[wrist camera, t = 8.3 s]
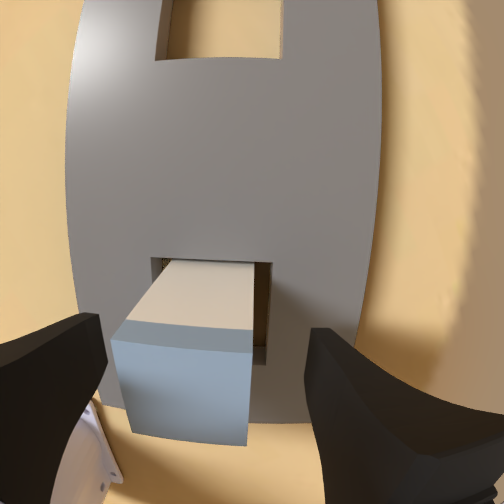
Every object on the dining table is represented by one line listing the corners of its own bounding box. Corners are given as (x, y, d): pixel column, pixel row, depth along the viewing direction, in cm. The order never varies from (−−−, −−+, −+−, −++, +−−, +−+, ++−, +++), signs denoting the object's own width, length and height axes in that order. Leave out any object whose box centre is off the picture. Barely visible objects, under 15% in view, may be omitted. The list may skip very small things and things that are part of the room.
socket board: (329, 402, 15) (334, 421, 14) (111, 388, 15) (102, 404, 14) (357, -57, 9) (365, -73, 7) (115, -54, 9) (105, -68, 7)
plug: (250, 324, 14) (246, 446, 7) (180, 320, 14) (132, 432, 7) (254, 256, 13) (252, 353, 6) (177, 252, 13) (110, 339, 6)
